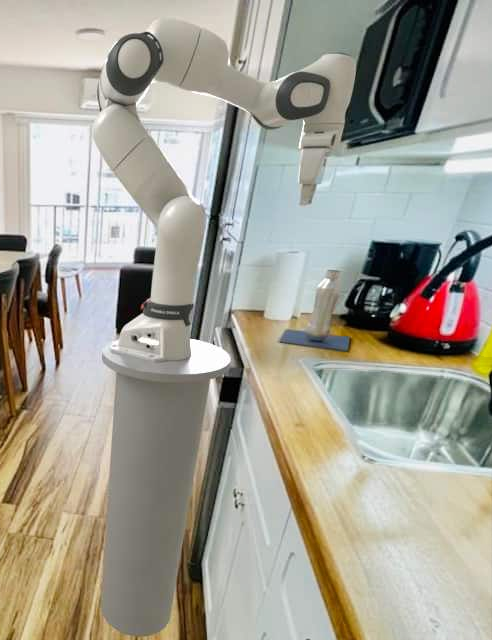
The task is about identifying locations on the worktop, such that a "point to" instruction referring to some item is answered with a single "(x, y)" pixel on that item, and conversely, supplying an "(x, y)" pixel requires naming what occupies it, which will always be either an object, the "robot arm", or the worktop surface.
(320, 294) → the plastic bottle
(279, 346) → the worktop surface
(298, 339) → the cloth
